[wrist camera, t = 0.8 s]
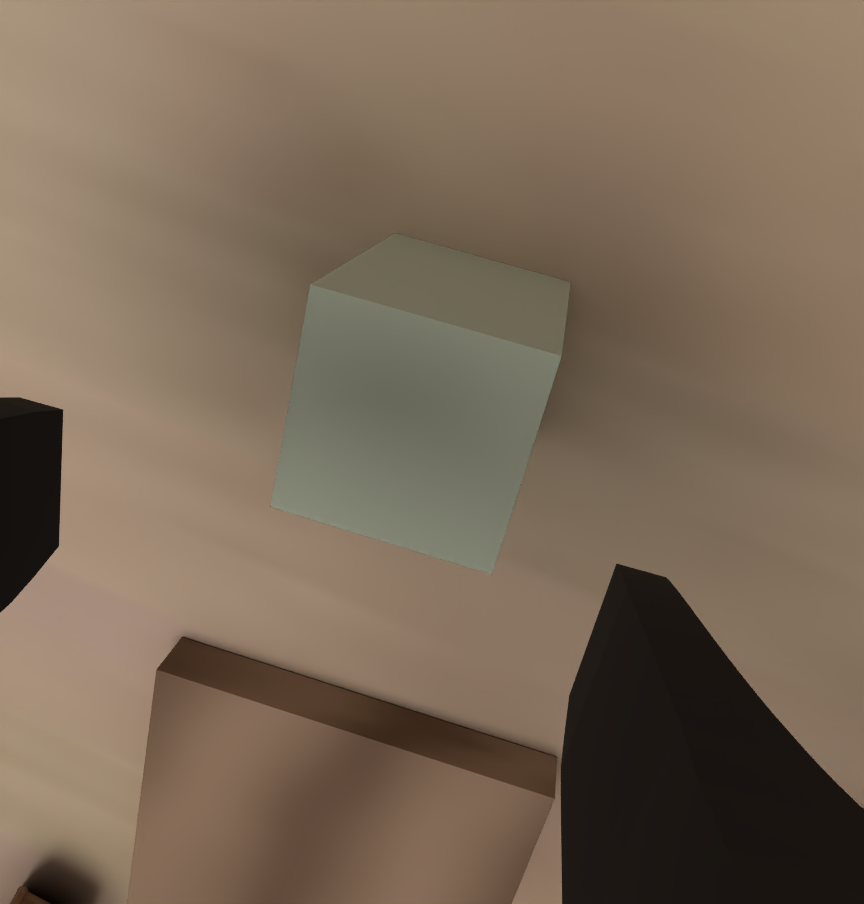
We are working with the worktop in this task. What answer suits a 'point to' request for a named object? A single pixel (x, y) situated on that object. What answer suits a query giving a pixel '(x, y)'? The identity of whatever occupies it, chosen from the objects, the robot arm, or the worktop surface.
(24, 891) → the tin
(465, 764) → the base
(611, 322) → the worktop surface
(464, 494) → the block
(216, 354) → the worktop surface
